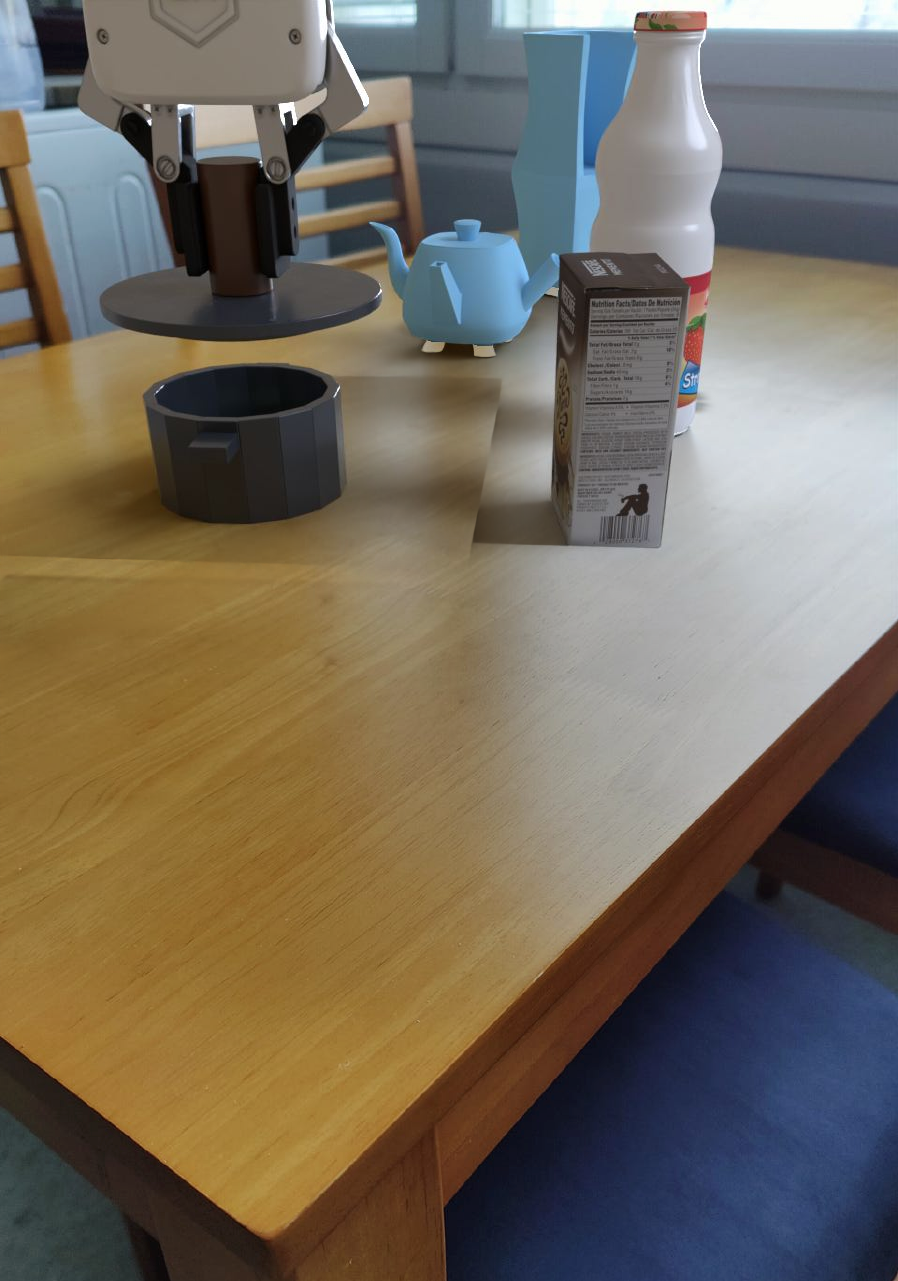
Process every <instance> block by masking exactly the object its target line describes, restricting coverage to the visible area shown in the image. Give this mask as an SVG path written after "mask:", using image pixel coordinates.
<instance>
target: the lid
mask: <svg viewBox="0 0 898 1281" xmlns="http://www.w3.org/2000/svg"><path fill="white" fill-rule="evenodd" d="M262 166H263V163H262V159H260V158H259V157H255V156H244V155H225V156H223V155H222V156H211V157H204V158H200V159H197V161H196V168H197V176H198V185H199V193H200V201H201V210H202V218H203V226H204V234H205V243H206V251H207V259H208V268H209V270H208V271H207V272H206V273H204V274H203V275H202V276H200V277H189V276H188V274H187V271H186V265H183V266H177V267H171V268H166V269H160V270H156V271H149V272H146V273H142V274H139V275H135V276H132V277H129V278H126V279H123V280H121V281H118V282H116V283H114V284H112V285H110V286H108V287H107V288H106V289H104V290H103V291H102V292H101V294H100V296H99V300H98V301H99V302H98V303H99V308H100V313H101V314H102V316H103V317H102V318H104V319H105V320H106V321H107V322H109V323H110V324H112V325H114V326H117V327H120V328H121V329H125V330H127V331H128V330H129V331H132V332H136V333H139V334H146V335H151V336H158V337H165V338H166V337H167V338H177V339H182V340H190V341H197V342H198V341H199V342H212V343H213V342H214V343H215V342H216V343H217V342H218V343H226V342H227V343H238V342H239V343H240V342H242V343H243V342H257V341H269V340H271V341H272V340H278V339H279V340H280V339H283V338H284V339H286V338H291V337H298V336H301V335H306V334H310V333H314V332H319V331H323V330H328V329H332V328H337V327H341V326H343V325H347V324H349V323H352V322H355V321H358V320H361V319H363V318H365V317H367V316H368V315H371V314H372V313H374V312H375V311H376V310H378V309H379V307H380V306H381V304H382V301H383V294H382V293H383V290H382V285H381V284H380V282H379V281H378V280H376V279H375V278H374V277H372V276H370V275H368V274H366V273H362V272H360V271H357V270H354V269H349V268H345V267H340V266H336V265H329V264H321V263H313V262H301V261H300V262H299V261H291V263H290V267H289V268H288V269H287V270H286V271H285V272H284V273H283V274H282V275H281V276H280V277H279V278H267V277H266V275H263V274H262V267H261V257H260V246H259V235H258V225H257V214H256V204H255V187H256V186H257V185H258V184H260V183H261V171H260V168H261V167H262Z"/></svg>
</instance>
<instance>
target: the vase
mask: <svg viewBox="0 0 898 1281" xmlns="http://www.w3.org/2000/svg"><path fill="white" fill-rule="evenodd" d="M634 32H635V30H631V31H630V30H605V29H604V30H600V29H565V30H549V31H530V32H529V31H528V32H523V33H522V40H523V48H524V51H525V59H526V68H527V82H528V84H527V85H528V104H527V105H528V106H527V113H526V119H525V124H524V129H523V133H522V137H521V140H520V143H519V145H518V146H519V147H518V150H517V153H516V155H515V158H514V161H513V164H512V167H511V178H510V179H511V185H512V188H513V189H512V190H513V194H514V199H515V205H516V213H517V220H518V243H517V245H518V247H519V250H520V253H521V255H522V258H523V261H524V263H525V266H526V270H527V273H528V277H529V279H530V278H531V277H532V276H533V275H534V274H535V273H536V271H537V270H538V269H539V268H540V267H541V266H542V265H543V263H544V262H545V261H546V260H547V259H548V258H549V257H550V255H551V254H553V253H554V254H557V255H558V256H559V255H561V254H566V253H585V252H588V251H589V242H590V234H591V229H592V225H593V222H594V220H595V217H596V215H597V213H598V209H599V203H600V196H599V191H598V185H597V180H596V172H595V163H596V155H597V149H598V145H599V142H600V139H601V137H602V135H603V134H604V132H605V130H606V129H607V127H608V126H609V124H610V123H611V122H612V120H613V119H614V118H615V116H616V115H617V113H618V112H619V110H620V108H621V106H622V104H623V101H624V99H625V96H626V94H627V91H628V88H629V85H630V82H631V78H632V75H633V72H634V67H635V62H636V57H637V42H636V41H634V36H635V35H634ZM552 287H555V288H559V279H558V280H557V282H556V283H555V284H554V285H553V286H552Z"/></svg>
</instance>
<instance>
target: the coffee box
mask: <svg viewBox="0 0 898 1281" xmlns="http://www.w3.org/2000/svg"><path fill="white" fill-rule="evenodd" d="M559 260H560V263H559V290H558V297H557V319H556V320H557V323H556V324H557V325H556V343H555V344H556V347H555V348H556V349H555V351H556V352H555V376H554V405H553V406H554V408H553V428H552V449H551V450H552V453H551V480H550V482H551V483H550V485H551V486H550V502H551V504H552V507H553V509H554V511H555V514H556V516H557V520H558V523H559V525H560V528H561V531H562V533H563V536H564V539H565V542H566V544H567V546H568V547H591V548H592V547H593V548H596V547H598V548H599V547H600V548H601V547H602V548H628V549H629V548H633V549H657V548H660V547H662V543H663V542H662V541H663V535H664V534H663V532H664V525H665V515H666V514H665V513H666V505H667V497H668V490H669V480H670V473H671V472H670V471H671V464H672V455H673V447H674V438H675V436H674V431H675V422H676V413H677V404H678V396H679V387H680V379H681V370H682V361H683V352H684V342H685V334H686V325H687V315H688V306H689V297H690V288H691V286H690V285H689V284H688V283H687V282H686V281H685V280H684V279H683V278H682V277H680V276H679V275H678V274H677V273H676V272H675V271H674V270H673V269H672V268H671V267H670V266H669V265H668V264H667V263H666V262H665V261H664V260H663V259H662V258H661V257H660V256H659V255H658V254H657V253H640V254H626V253H616V252H585V253H566V254H561V255H559Z"/></svg>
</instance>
